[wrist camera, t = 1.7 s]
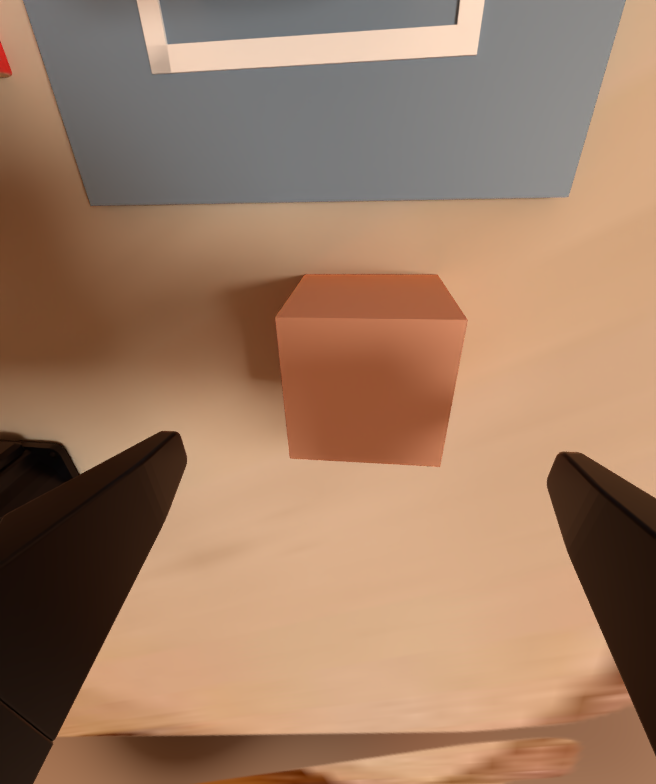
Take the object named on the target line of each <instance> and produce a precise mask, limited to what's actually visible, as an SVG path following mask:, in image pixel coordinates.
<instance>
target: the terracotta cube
mask: <svg viewBox="0 0 656 784" xmlns="http://www.w3.org/2000/svg"><path fill="white" fill-rule="evenodd" d="M467 321H468V320H467V318H466V317H465V315H464V314H463V312H462V311H461V309H460V308H459V306H458V305H457V303H456V302H455V300H454V299H453V297H452V296H451V294H450V293H449V291H448V290H447V288H446V287H445V285H444V284H443V282H442V281H441V279H440V278H439V276H438V275H397V274H305V275H304V276H303V278H302V279H301V281H300V282H299V284H298V285H297V286H296V288H295V289H294V291H293V292H292V294H291V295H290V297H289V298H288V299H287V301H286V302H285V304H284V305H283V307H282V308H281V309H280V311H279V312H278V314H277V315H276V317H275V322H276V332H277V341H278V351H279V360H280V370H281V379H282V388H283V398H284V407H285V417H286V426H287V436H288V445H289V455H290V458H292V459H310V460H328V461H346V462H364V463H382V464H400V465H417V466H435V467H440V464H441V459H442V454H443V448H444V443H445V438H446V432H447V427H448V422H449V416H450V411H451V406H452V400H453V395H454V390H455V384H456V379H457V374H458V369H459V363H460V358H461V353H462V347H463V342H464V337H465V331H466V326H467Z"/></svg>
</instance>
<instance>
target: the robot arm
mask: <svg viewBox="0 0 656 784" xmlns="http://www.w3.org/2000/svg"><path fill="white" fill-rule="evenodd" d="M186 464H187V455H186V452H185V449H184V445H183V442H182V439H181V436H180V434H179V433H178V432H175V431H161V432H158V433H157V434H155V435H153V436H151V437H149V438H147V439H145V440H144V441H142V442H140V443H138V444H136V445H134V446H132V447H131V448H129V449H127V450H125V451H123V452H121V453H119V454H117V455H116V456H114V457H112V458H110V459H108V460H106V461H104V462H103V463H101V464H99V465H97V466H95V467H93V468H91V469H90V470H88V471H86V472H84V473H82V474H80V475H79V474H78V473H77V471H76V469H75V467H74V465H73V463H72V461H71V459H70V458H69V456H68V454H67V452H66V450H65V449H64V448H63V447H62V446H60V445H58V444H53V443H36V442H20V441H3V440H0V784H33V783H34V781H35V779H36V777H37V775H38V773H39V771H40V769H41V767H42V765H43V763H44V761H45V759H46V757H47V755H48V753H49V751H50V749H51V747H52V745H53V740H55V738H56V737H57V735H58V733H59V731H60V729H61V727H62V725H63V723H64V721H65V719H66V717H67V715H68V713H69V711H70V709H71V707H72V705H73V703H74V701H75V699H76V697H77V695H78V693H79V691H80V689H81V687H82V685H83V683H84V681H85V679H86V677H87V675H88V673H89V671H90V669H91V667H92V665H93V663H94V661H95V659H96V657H97V655H98V653H99V651H100V649H101V647H102V645H103V643H104V641H105V639H106V637H107V635H108V633H109V631H110V629H111V627H112V625H113V623H114V621H115V619H116V617H117V615H118V613H119V611H120V609H121V607H122V605H123V603H124V601H125V600H126V598H127V596H128V594H129V592H130V590H131V588H132V586H133V584H134V582H135V580H136V578H137V576H138V574H139V572H140V570H141V568H142V566H143V564H144V562H145V560H146V558H147V556H148V554H149V552H150V550H151V548H152V546H153V544H154V542H155V540H156V538H157V536H158V534H159V532H160V530H161V528H162V526H163V524H164V522H165V520H166V517H167V515H168V512H169V510H170V507H171V505H172V502H173V499H174V497H175V494H176V491H177V489H178V486H179V483H180V481H181V478H182V475H183V473H184V470H185V467H186ZM547 488H548V492H549V495H550V498H551V501H552V505H553V508H554V511H555V514H556V517H557V521H558V524H559V527H560V530H561V534H562V537H563V540H564V543H565V546H566V549H567V552H568V554H569V557H570V559H571V562H572V564H573V566H574V569H575V571H576V573H577V576H578V578H579V580H580V582H581V585H582V587H583V589H584V592H585V594H586V596H587V599H588V601H589V603H590V606H591V608H592V610H593V612H594V615H595V617H596V619H597V622H598V624H599V626H600V629H601V631H602V633H603V636H604V638H605V640H606V642H607V645H608V647H609V649H610V652H611V654H612V656H613V659H614V661H615V663H616V666H617V668H618V670H619V672H620V675H621V677H622V679H623V682H624V684H625V686H626V689H627V691H628V693H629V696H630V698H631V700H632V702H633V705H634V707H635V709H636V712H637V714H638V716H639V719H640V721H641V723H642V725H643V728H644V730H645V732H646V735H647V737H648V739H649V742H650V744H651V746H652V748H653V751H654V753H655V755H656V498H654V497H653V496H651V495H649V494H648V493H646V492H644V491H643V490H641V489H640V488H638V487H636V486H635V485H633V484H631V483H630V482H628V481H626V480H625V479H623V478H621V477H620V476H618V475H617V474H615V473H613V472H612V471H610V470H608V469H607V468H605V467H603V466H602V465H600V464H599V463H597V462H595V461H594V460H592V459H590V458H589V457H587V456H585V455H584V454H582V453H579V452H560V453H559V454H558V455H557V456H556V458H555V461H554V463H553V466H552V468H551V470H550V473H549V475H548V478H547Z"/></svg>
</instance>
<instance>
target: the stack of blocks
mask: <svg viewBox="0 0 656 784" xmlns="http://www.w3.org/2000/svg"><path fill="white" fill-rule="evenodd" d="M11 75H12V72H11V69H10V66H9V63H8V61H7V58H6V55H5V53H4V50H3V47H2V45H1V42H0V77H9V76H11Z"/></svg>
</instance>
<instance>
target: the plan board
mask: <svg viewBox="0 0 656 784" xmlns="http://www.w3.org/2000/svg"><path fill="white" fill-rule="evenodd" d="M625 1H626V0H23V2H24V5H25V8H26V11H27V14H28V17H29V20H30V23H31V26H32V29H33V32H34V35H35V38H36V41H37V44H38V47H39V50H40V53H41V56H42V59H43V62H44V65H45V68H46V71H47V74H48V77H49V81H50V84H51V87H52V90H53V93H54V96H55V99H56V102H57V105H58V108H59V111H60V114H61V117H62V120H63V123H64V126H65V129H66V132H67V135H68V138H69V141H70V144H71V147H72V150H73V153H74V156H75V159H76V163H77V166H78V169H79V172H80V175H81V178H82V181H83V184H84V187H85V190H86V193H87V196H88V199H89V202H90V205H91V206H106V205H162V204H217V203H273V202H328V201H384V200H439V199H495V198H550V197H569V193H570V190H571V187H572V183H573V180H574V176H575V173H576V169H577V166H578V163H579V159H580V156H581V152H582V149H583V145H584V142H585V139H586V135H587V132H588V128H589V125H590V121H591V118H592V115H593V111H594V108H595V104H596V101H597V97H598V94H599V91H600V87H601V84H602V80H603V77H604V73H605V70H606V67H607V63H608V60H609V56H610V53H611V49H612V46H613V43H614V39H615V36H616V32H617V29H618V25H619V22H620V19H621V15H622V12H623V8H624V5H625Z"/></svg>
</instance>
